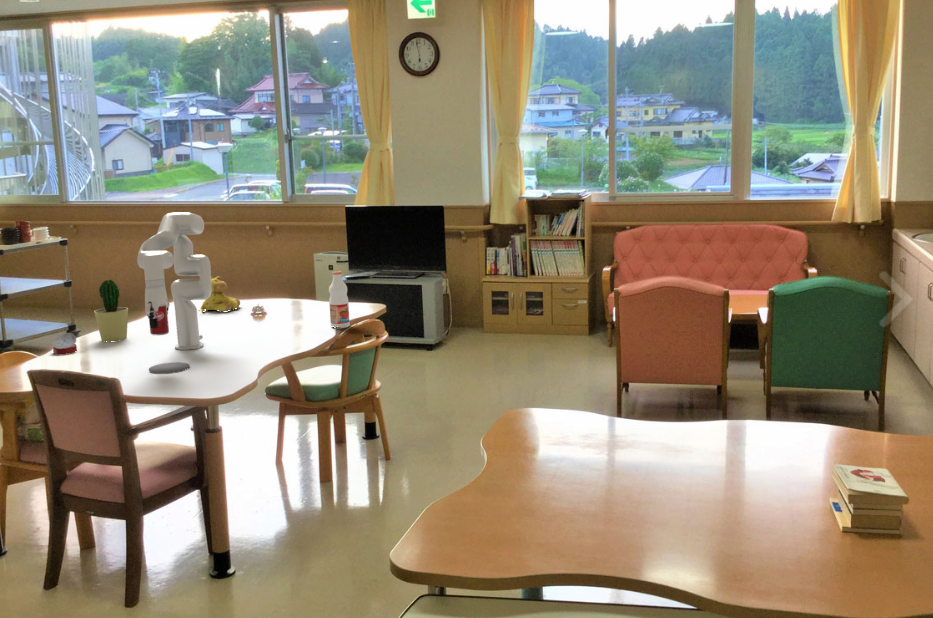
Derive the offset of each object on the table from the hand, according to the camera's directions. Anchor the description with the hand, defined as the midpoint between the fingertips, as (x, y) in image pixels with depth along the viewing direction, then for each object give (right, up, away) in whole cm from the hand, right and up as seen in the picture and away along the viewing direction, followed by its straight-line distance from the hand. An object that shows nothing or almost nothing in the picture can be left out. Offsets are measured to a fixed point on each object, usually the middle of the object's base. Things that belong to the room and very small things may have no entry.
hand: (159, 325), depth 357 cm
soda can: (0, -4, +1) cm, 4 cm away
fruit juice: (+63, -2, +79) cm, 101 cm away
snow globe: (-57, -13, +40) cm, 71 cm away
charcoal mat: (+4, -18, +2) cm, 18 cm away
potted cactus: (-45, -8, +64) cm, 78 cm away
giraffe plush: (-14, +6, +138) cm, 139 cm away
